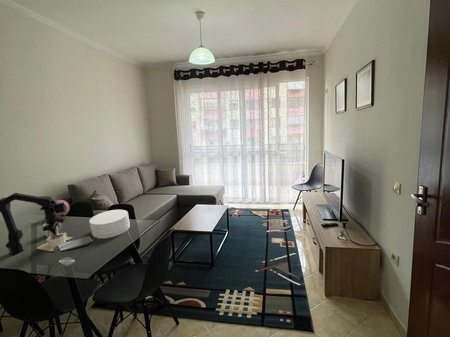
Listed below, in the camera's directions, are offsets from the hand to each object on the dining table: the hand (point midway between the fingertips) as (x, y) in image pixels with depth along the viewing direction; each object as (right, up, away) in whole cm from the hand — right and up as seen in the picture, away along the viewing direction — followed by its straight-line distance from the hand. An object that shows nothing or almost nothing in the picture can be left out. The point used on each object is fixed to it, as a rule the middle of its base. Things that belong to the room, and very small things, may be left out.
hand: (55, 234), depth 185 cm
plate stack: (+33, -1, +19) cm, 38 cm away
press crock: (+1, -8, +2) cm, 8 cm away
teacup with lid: (-14, -5, +20) cm, 25 cm away
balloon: (-33, +2, +55) cm, 64 cm away
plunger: (+1, -6, +1) cm, 7 cm away
